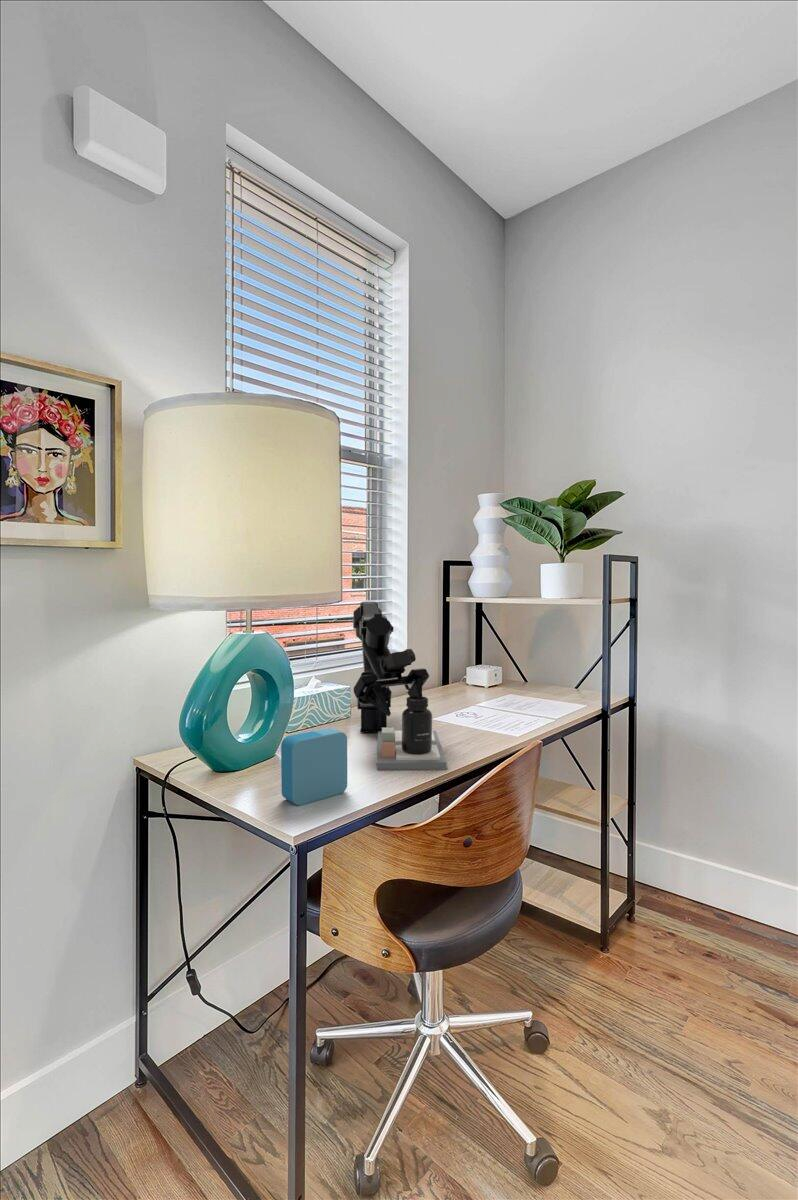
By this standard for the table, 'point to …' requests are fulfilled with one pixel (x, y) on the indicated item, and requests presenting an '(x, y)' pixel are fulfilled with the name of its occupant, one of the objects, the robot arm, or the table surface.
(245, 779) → the table surface
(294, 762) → the blue rounded square block
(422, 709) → the supplement bottle
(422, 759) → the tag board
